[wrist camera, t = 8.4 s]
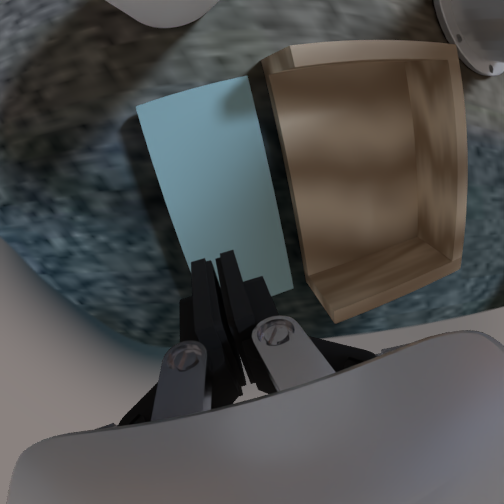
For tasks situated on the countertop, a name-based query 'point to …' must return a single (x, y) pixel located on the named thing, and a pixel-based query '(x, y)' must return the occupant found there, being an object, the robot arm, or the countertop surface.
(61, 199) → the countertop surface
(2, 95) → the countertop surface
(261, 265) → the panel
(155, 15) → the cup
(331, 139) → the crate
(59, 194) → the countertop surface
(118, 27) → the countertop surface
